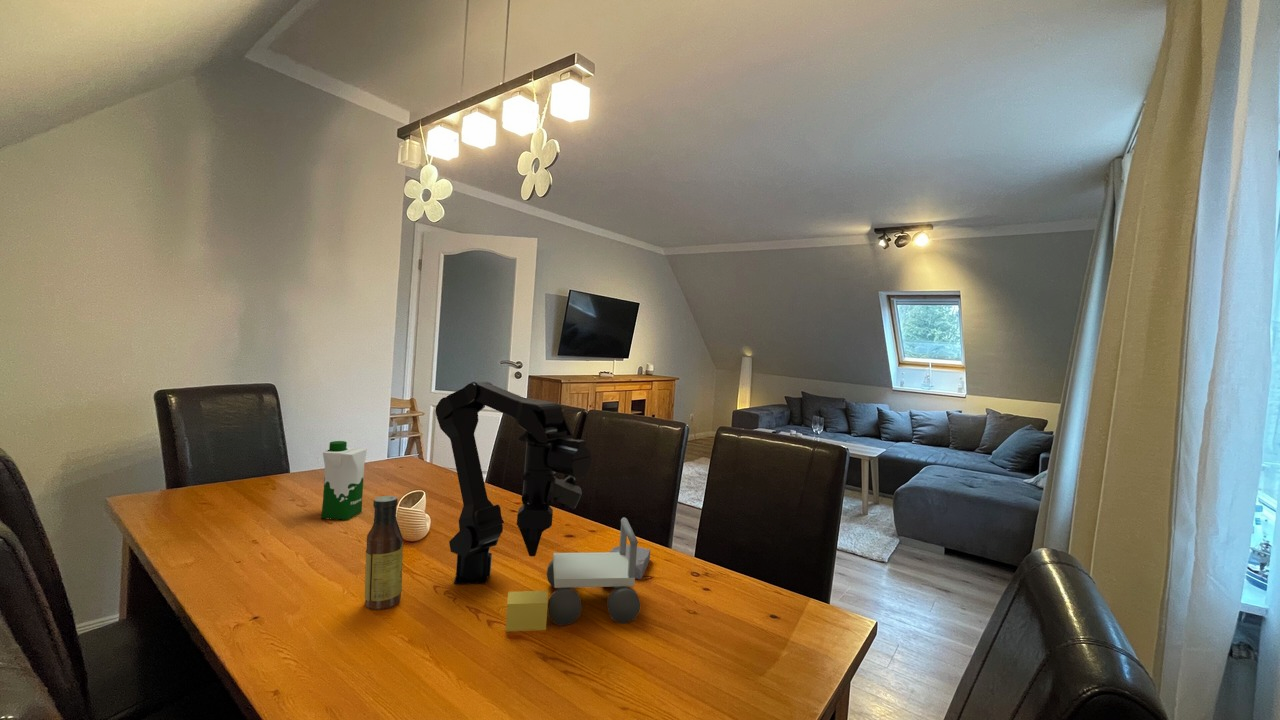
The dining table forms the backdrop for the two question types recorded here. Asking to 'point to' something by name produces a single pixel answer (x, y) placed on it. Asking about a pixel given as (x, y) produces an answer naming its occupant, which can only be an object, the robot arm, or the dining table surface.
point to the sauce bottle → (384, 556)
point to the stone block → (638, 559)
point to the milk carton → (343, 481)
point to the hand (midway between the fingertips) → (533, 546)
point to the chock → (526, 611)
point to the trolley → (595, 580)
